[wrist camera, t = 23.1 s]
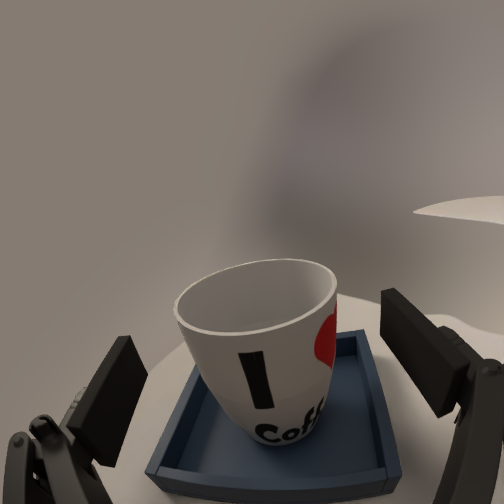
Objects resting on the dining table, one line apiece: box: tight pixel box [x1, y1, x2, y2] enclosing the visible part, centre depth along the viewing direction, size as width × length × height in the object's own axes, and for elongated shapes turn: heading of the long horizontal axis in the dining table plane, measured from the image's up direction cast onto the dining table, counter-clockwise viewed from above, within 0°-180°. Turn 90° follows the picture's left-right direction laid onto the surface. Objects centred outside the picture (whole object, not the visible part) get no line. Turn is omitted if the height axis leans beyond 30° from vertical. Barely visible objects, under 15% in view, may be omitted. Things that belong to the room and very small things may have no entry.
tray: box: [145, 329, 402, 504], centre depth 17 cm, size 14×14×3 cm
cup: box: [174, 259, 337, 446], centre depth 16 cm, size 8×8×10 cm
